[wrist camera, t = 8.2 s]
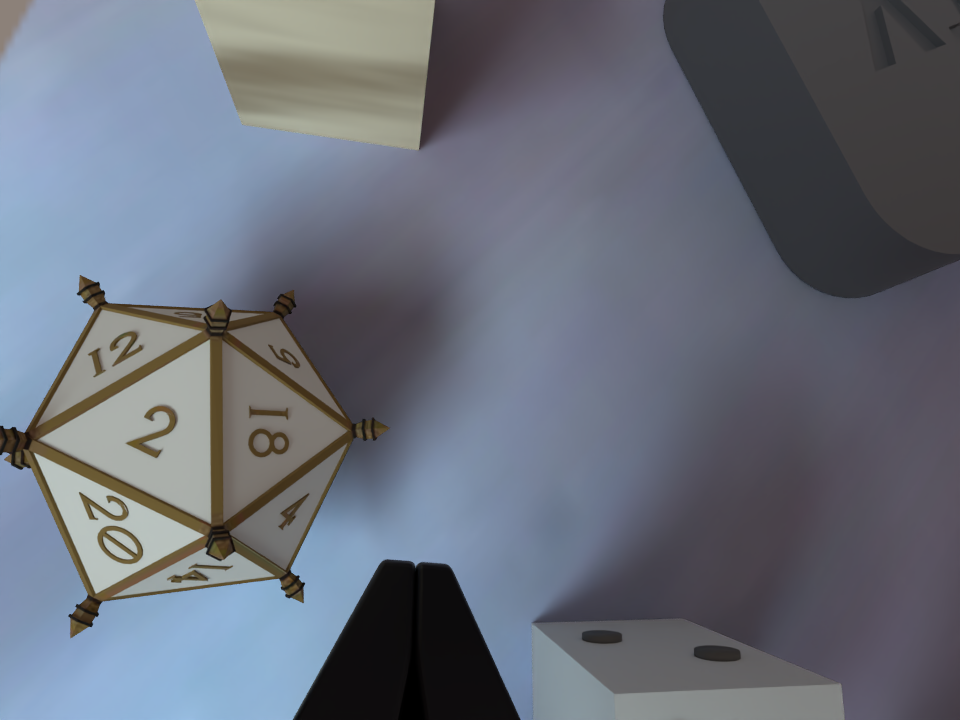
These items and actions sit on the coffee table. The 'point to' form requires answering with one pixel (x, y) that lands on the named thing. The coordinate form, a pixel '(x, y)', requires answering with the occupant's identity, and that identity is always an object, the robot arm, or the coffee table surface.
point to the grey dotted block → (668, 675)
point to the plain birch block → (326, 65)
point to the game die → (184, 449)
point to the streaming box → (836, 127)
